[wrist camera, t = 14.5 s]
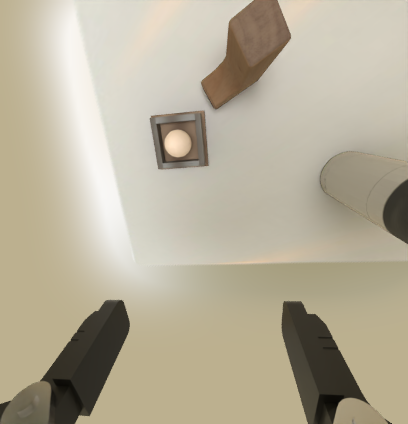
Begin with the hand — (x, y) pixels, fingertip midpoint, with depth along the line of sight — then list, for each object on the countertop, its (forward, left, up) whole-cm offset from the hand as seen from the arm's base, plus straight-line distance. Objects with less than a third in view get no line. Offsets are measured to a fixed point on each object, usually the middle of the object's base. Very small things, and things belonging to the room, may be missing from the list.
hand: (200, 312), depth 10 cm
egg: (+6, -6, -34) cm, 35 cm away
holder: (+6, -6, -35) cm, 36 cm away
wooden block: (-4, -15, -35) cm, 38 cm away
